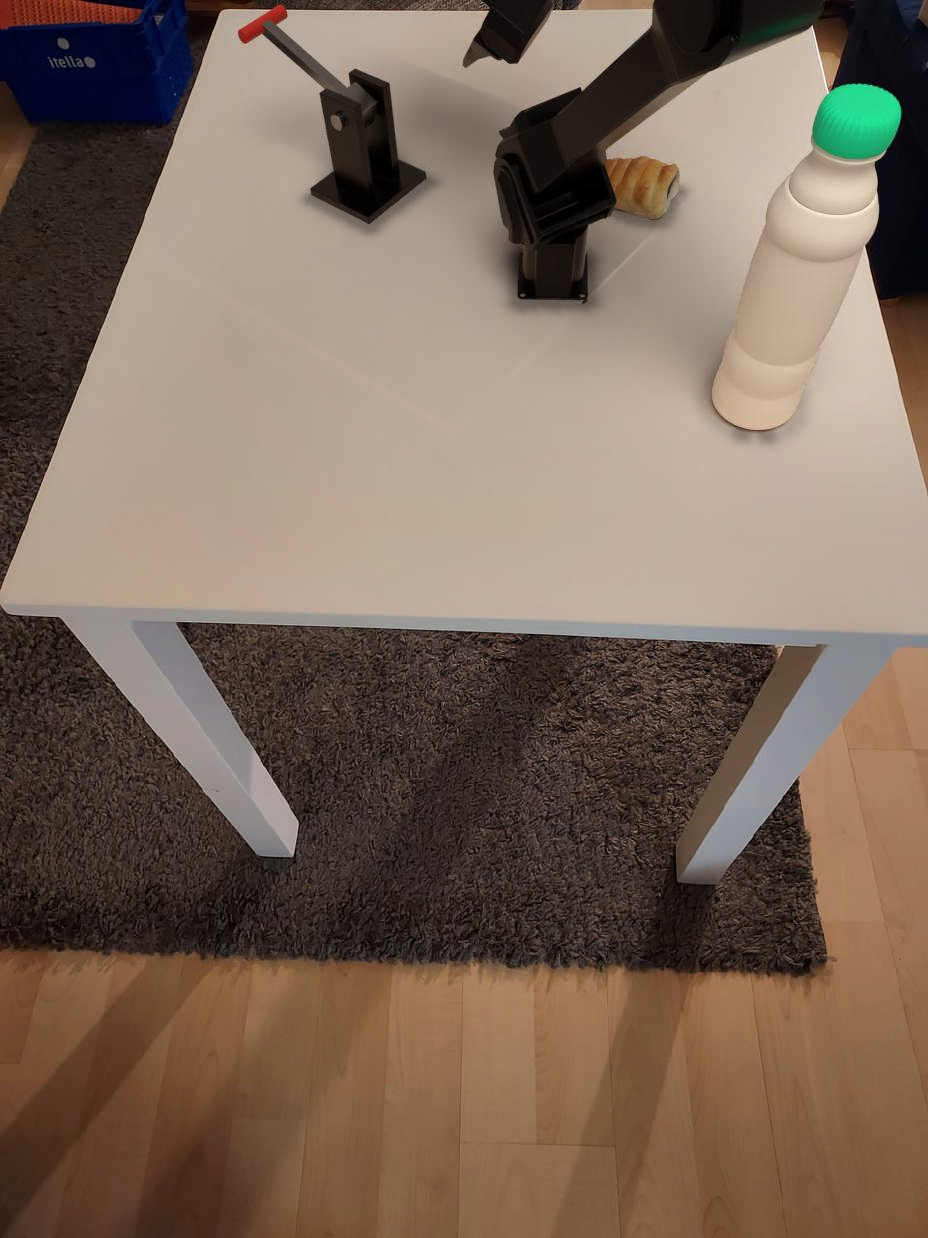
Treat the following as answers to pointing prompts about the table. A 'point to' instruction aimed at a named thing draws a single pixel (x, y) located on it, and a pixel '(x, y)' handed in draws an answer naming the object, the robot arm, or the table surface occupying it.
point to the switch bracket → (363, 154)
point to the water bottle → (806, 259)
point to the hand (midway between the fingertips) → (425, 30)
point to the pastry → (643, 185)
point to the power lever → (306, 59)
